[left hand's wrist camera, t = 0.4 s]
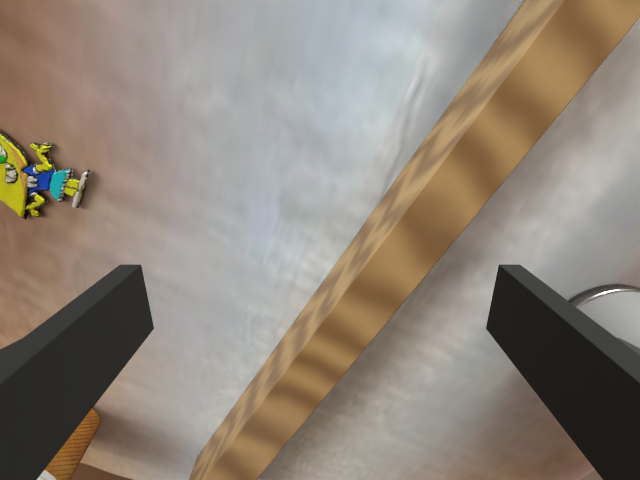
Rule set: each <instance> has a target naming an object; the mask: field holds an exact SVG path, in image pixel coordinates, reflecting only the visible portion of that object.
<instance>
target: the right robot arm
mask: <svg viewBox="0 0 640 480" xmlns="http://www.w3.org/2000/svg"><path fill="white" fill-rule="evenodd" d="M568 302H570V303H571V304H572V305H574V306H575V307H576V308H578V309H579V310H580V311H582V312H583V313H584V314H586V315H587V316H588V317H590V318H591V319H592V320H594V321H595V322H596V323H598V324H599V325H600V326H602V327H603V328H604V329H606V330H607V331H608V332H610V333H611V334H612V335H613V336H615V337H616V338H621V339H623V340H625V341H626V342H628V343H630V344H632V345H634V346H636V347H638V348H640V289H639V288H636V287H633V286H629V285H619V284H616V285H605V286H600V287H596V288H593V289H590V290H587V291H585V292H583V293H581V294H579V295H577V296H575V297H574V298H572V299H570V300H569V301H568Z"/></svg>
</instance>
